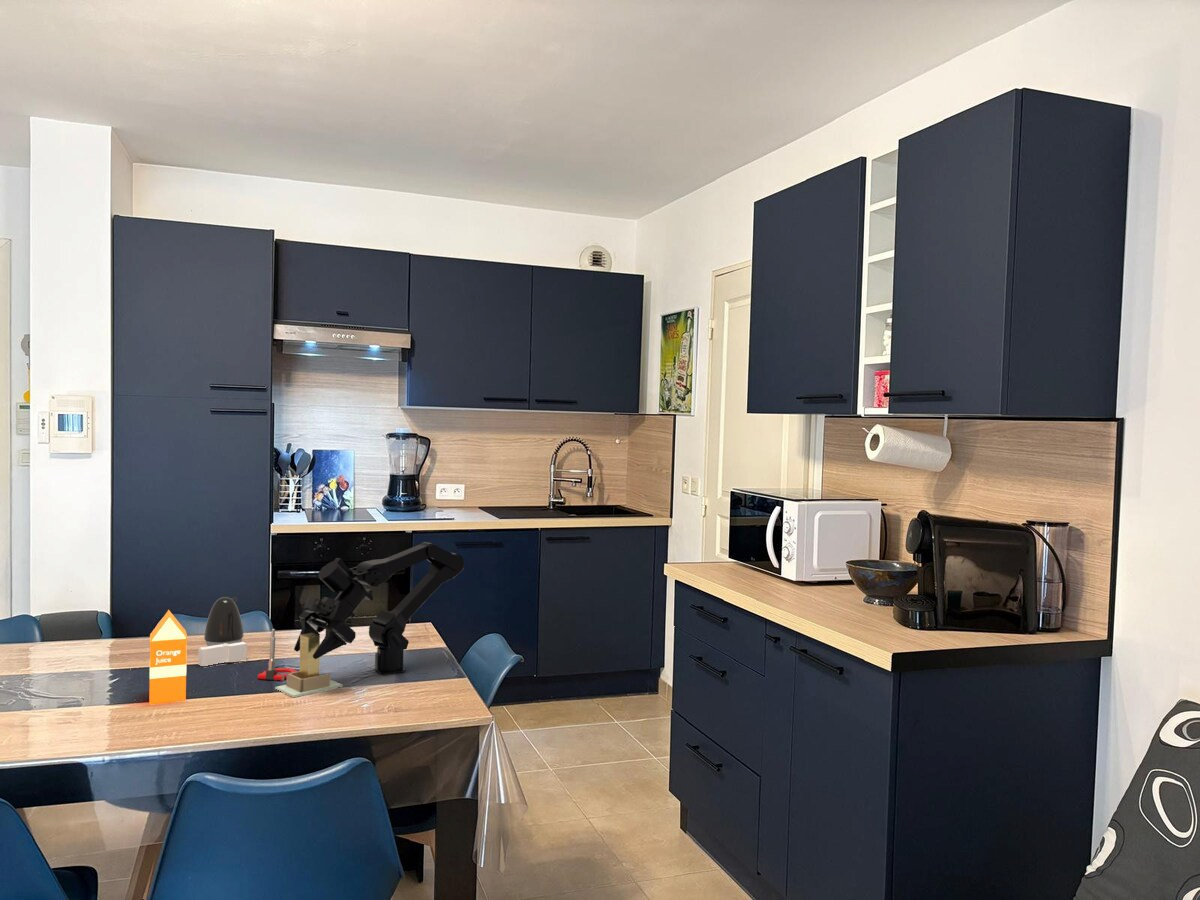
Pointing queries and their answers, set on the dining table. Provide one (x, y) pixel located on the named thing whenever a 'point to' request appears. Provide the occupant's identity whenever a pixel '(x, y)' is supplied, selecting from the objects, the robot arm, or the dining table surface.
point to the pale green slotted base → (307, 684)
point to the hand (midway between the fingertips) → (304, 654)
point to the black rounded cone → (224, 623)
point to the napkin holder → (222, 653)
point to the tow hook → (272, 672)
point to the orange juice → (168, 661)
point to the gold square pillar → (309, 655)
